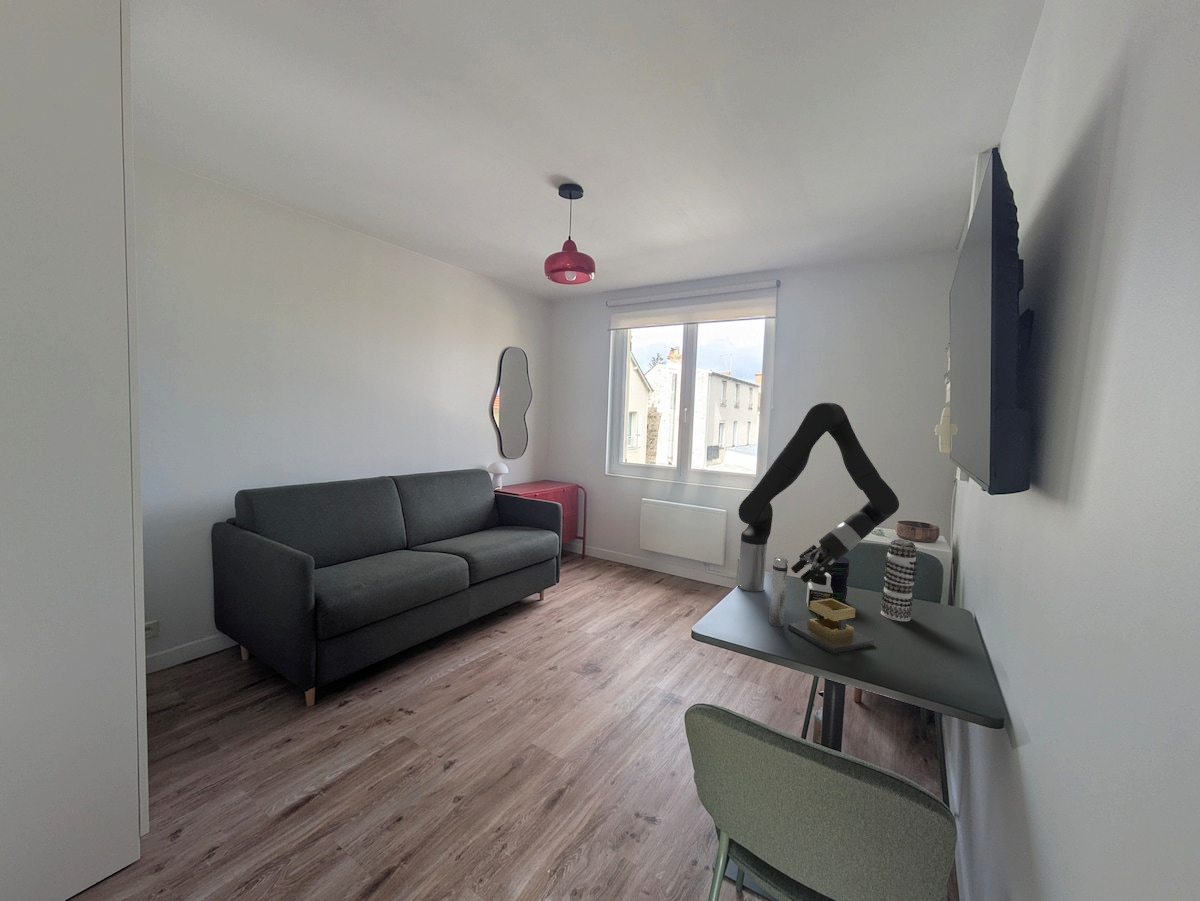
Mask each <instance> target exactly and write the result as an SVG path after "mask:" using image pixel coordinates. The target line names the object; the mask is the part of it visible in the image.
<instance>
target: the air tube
mask: <svg viewBox="0 0 1200 901" xmlns="http://www.w3.org/2000/svg"><path fill="white" fill-rule="evenodd" d="M788 565H789V560H788V558H785V557H774V558H773V564H772V576H771V577H772V579H771V588H770V589H771V590H770V591H771V592H770V603H769V617H768V624H769V625H771V626H773V627H777V628H779V627H783V625H784V613H785V600H786V590H787V577H788V576H787V575H788V569H789V566H788Z"/></svg>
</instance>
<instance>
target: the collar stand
mask: <svg viewBox="0 0 1200 901" xmlns="http://www.w3.org/2000/svg"><path fill="white" fill-rule="evenodd" d="M829 608H832V609H829ZM809 610H810V611H812V612H814V613H816V618H809V619H808V620H803V621H796V622H793V623H792V622H791V623H788V624H787V625H788V626H787V629H788V630H789V631H791V632H792V633H795V634H796V635H798V636H801V637H802V638H804V639H805V640H807V641H809V642H811V643H813V644H814V645H816V646H817V647H820V649H823V650H824V651H826V652H828V653H830V654H832V655H833V654H838V653H843V652H848V651H853V650H858V649H864V648H868V647H872V646H873V647H874V646H875V639H873V638H870V637H869V636H867V635H865V634H862V633H860V632H858V631H856V630H855V627H854V626H852V625H849V624H847V620H848V619H854V618H856V608H855V607H853V606H849V605H847V604H843V603H841V602H839V601H836V600H834V599H832V598H829V599H822V600H815V601H810V609H809Z"/></svg>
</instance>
